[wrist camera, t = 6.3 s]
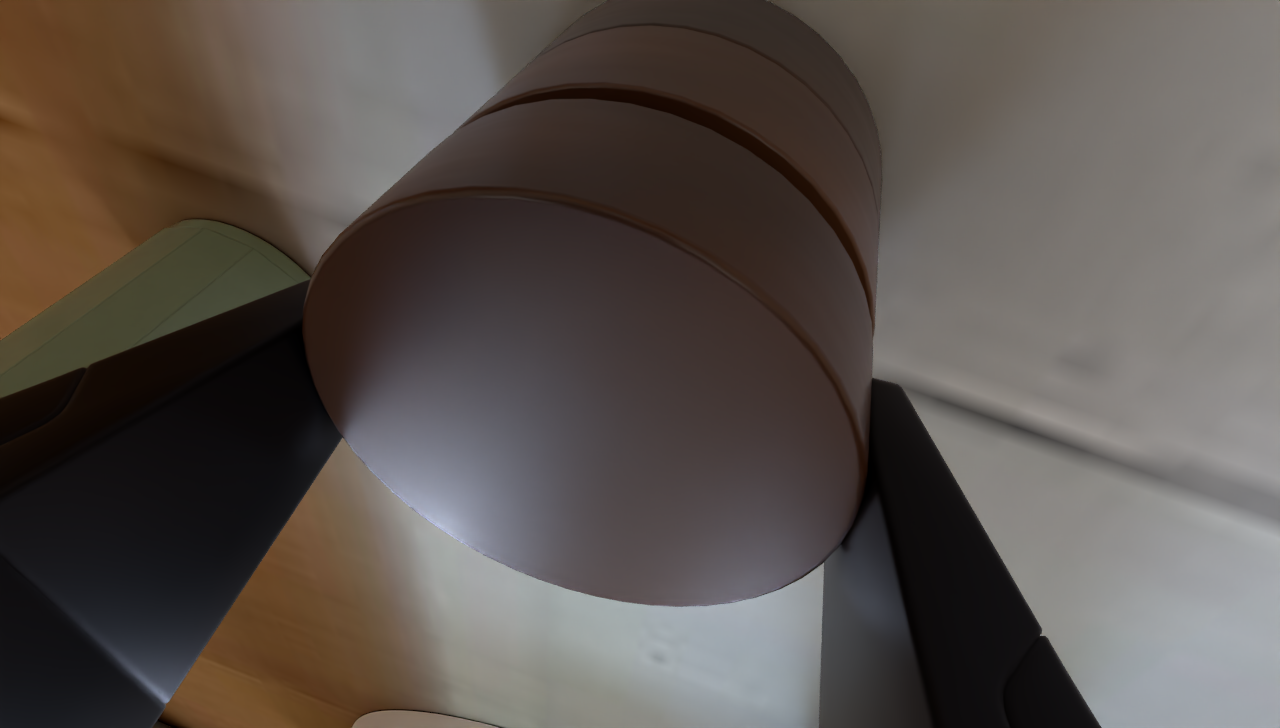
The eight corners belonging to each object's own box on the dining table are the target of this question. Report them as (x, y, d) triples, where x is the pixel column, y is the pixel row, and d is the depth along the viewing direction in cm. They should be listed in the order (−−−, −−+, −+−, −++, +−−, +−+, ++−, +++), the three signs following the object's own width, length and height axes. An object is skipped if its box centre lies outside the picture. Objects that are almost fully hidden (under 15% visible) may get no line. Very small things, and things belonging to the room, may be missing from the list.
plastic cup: (318, 242, 16) (50, 479, 11) (368, 402, 19) (186, 633, 15) (122, 196, 16) (-211, 398, 12) (205, 359, 20) (-19, 564, 15)
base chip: (943, 19, 9) (950, 70, 8) (825, 356, 14) (817, 427, 12) (509, -49, 10) (447, -12, 9) (528, 287, 15) (490, 346, 13)
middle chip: (950, 70, 8) (960, 145, 7) (817, 427, 12) (806, 517, 11) (447, -12, 9) (363, 38, 8) (490, 346, 13) (442, 419, 12)
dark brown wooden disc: (962, 161, 6) (980, 285, 5) (803, 535, 11) (787, 657, 9) (343, 47, 7) (210, 123, 6) (430, 434, 12) (366, 531, 10)
